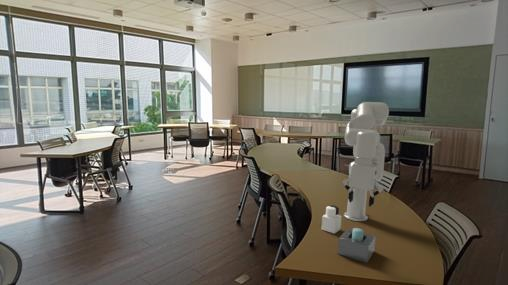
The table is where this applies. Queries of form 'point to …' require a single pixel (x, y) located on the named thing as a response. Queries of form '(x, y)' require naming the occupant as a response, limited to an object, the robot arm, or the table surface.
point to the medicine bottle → (331, 219)
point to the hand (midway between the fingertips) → (360, 203)
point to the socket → (356, 246)
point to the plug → (357, 234)
